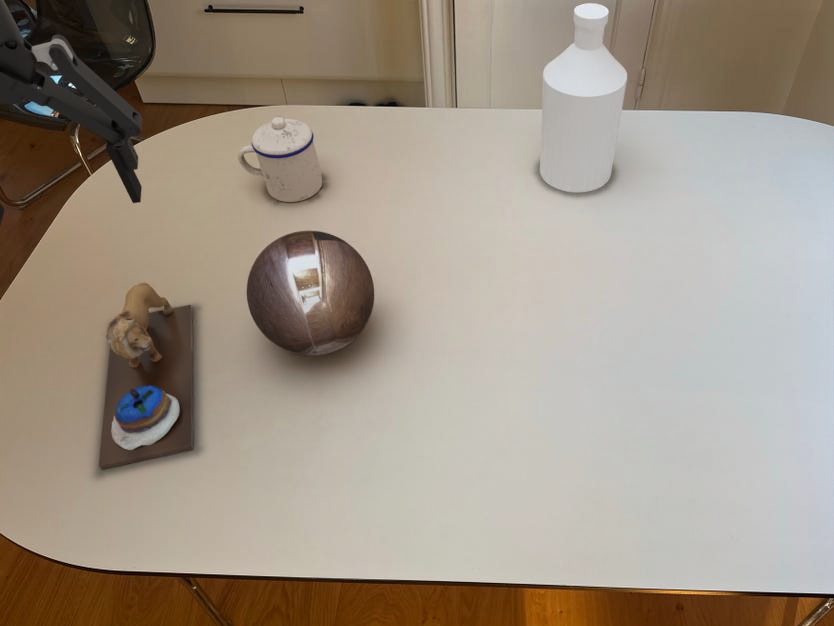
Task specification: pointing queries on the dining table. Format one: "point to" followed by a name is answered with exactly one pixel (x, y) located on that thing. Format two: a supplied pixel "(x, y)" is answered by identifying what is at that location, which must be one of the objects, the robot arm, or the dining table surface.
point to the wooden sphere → (310, 292)
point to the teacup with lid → (285, 159)
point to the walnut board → (167, 373)
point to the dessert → (143, 417)
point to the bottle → (581, 107)
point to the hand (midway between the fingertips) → (69, 206)
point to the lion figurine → (136, 324)
